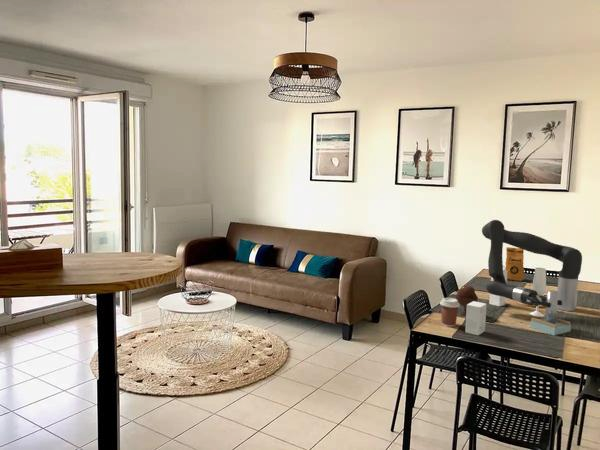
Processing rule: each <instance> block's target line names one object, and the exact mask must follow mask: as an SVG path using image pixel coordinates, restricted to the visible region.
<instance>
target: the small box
mask: <svg viewBox="0 0 600 450" xmlns="http://www.w3.org/2000/svg"><path fill="white" fill-rule="evenodd" d="M486 316H487V303H484V302H479V301H477V302H475V301H473V302H471V303H469V304H467V310H466V316H465V330H464V332H465V333H467V334H470V335H474V336H479V335H481V334H483V333H484V332H486V319H487V317H486Z"/></svg>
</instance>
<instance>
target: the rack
mask: <svg viewBox="0 0 600 450" xmlns="http://www.w3.org/2000/svg"><path fill="white" fill-rule="evenodd" d="M529 328H531V329H533V330H537V331H540V332H543V333H546V334H549V335H551V336H558V335H562V334H565V333H569V332H571V329H572V325H571V321H567V320H564V319H561V318H557V317H556V324H552V323H548V322H545V317H544V318H541V319H540V318H539V319H538V318H535V317H531V321H530V326H529Z"/></svg>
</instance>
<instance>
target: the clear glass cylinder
mask: <svg viewBox="0 0 600 450" xmlns="http://www.w3.org/2000/svg"><path fill="white" fill-rule="evenodd" d="M546 292H547V293H546V295H547V301H546V302H549V303H551V307H549V308H548V307H545V314H544V318H545V322H548V323H552V324H556V318H557V313H558V312H557V311H558V309H557V302H558V292H557V290H552V289H550V290H546Z"/></svg>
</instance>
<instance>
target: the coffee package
mask: <svg viewBox="0 0 600 450" xmlns="http://www.w3.org/2000/svg"><path fill="white" fill-rule="evenodd" d="M505 249H506V256H505V257H506V258H505V259H506V260H505V269H506V270H507V281H508V280H510V281H516V282H523V280H524V278H525V267H524V257H525V256H524V251H525V250H523V249H520V248H518V247H508V246H506V248H505Z"/></svg>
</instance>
